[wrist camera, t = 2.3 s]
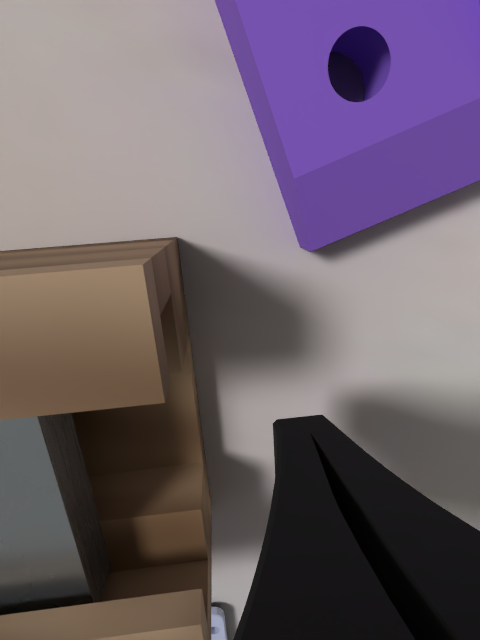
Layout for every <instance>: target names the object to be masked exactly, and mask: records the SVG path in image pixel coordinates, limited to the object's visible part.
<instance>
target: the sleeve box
mask: <svg viewBox="0 0 480 640" xmlns="http://www.w3.org/2000/svg"><path fill="white" fill-rule="evenodd" d="M64 413H72V417H73V421H74V425H75V429H76V432H77V436H78V440H79V444H80V448H81V451H82V455H83V459H84V463H85V466H86V470H87V474H88V478H89V482H90V485H91V489H92V493H93V497H94V501H95V504H96V508H97V512H98V516H99V520H100V523H101V527H102V531H103V535H104V538H105V542H106V546H107V550H108V554H109V557H110V561H111V565H110V568H109V572H108V575H107V579H106V582H105V586H104V589H103V593H102V596H101V600H100V602H97V603H90V604H82V605H75V606H67V607H60V608H52V609H45V610H37V611H30V612H22V613H15V614H7V615H0V640H211V532H212V508H211V500H210V492H209V485H208V477H207V469H206V461H205V453H204V445H203V437H202V429H201V421H200V414H199V406H198V398H197V390H196V382H195V374H194V366H193V358H192V350H191V343H190V335H189V327H188V319H187V311H186V303H185V295H184V287H183V280H182V272H181V264H180V256H179V248H178V240H177V237H172V238H160V239H147V240H135V241H122V242H110V243H97V244H85V245H72V246H59V247H47V248H34V249H22V250H9V251H0V420H7V419H16V418H26V417H35V416H45V415H54V414H64Z"/></svg>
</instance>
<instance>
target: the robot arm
mask: <svg viewBox="0 0 480 640" xmlns="http://www.w3.org/2000/svg"><path fill="white" fill-rule="evenodd" d="M273 435H274V456H275V484H274V491H273V497H272V503H271V509H270V515H269V520H268V524H267V529H266V533H265V538H264V542H263V546H262V550H261V554H260V557H259V561H258V565H257V568H256V572H255V575H254V579H253V582H252V586H251V589H250V592H249V595H248V599H247V602H246V605H245V608H244V611H243V614H242V617H241V620H240V622H239V625H238V628H237V631H236V634H235V637H234V639H233V640H480V531H479V530H477V529H475V528H474V527H472V526H470V525H469V524H467V523H466V522H464V521H462V520H461V519H459V518H458V517H456V516H454V515H453V514H451V513H450V512H448V511H447V510H445V509H443V508H442V507H440V506H439V505H437V504H436V503H434V502H433V501H431V500H430V499H428V498H427V497H425V496H424V495H422V494H421V493H420V492H418V491H417V490H415V489H414V488H413V487H411V486H410V485H408V484H407V483H406V482H404V481H403V480H401V479H400V478H399V477H397V476H396V475H395V474H393V473H392V472H391V471H389V470H388V469H387V468H385V467H384V466H383V465H381V464H380V463H379V462H378V461H376V460H375V459H374V458H373V457H371V456H370V455H369V454H368V453H366V452H365V451H364V450H363V449H362V448H360V447H359V446H358V445H357V444H356V443H355V442H353V441H352V440H351V439H350V438H349V437H347V436H346V435H345V434H344V433H343V432H342V431H341V430H339V429H338V428H337V427H336V426H335V425H334V424H332V423H331V422H330V421H329V420H328V419H327V418H325V417H324V416H323V415H315V416H306V417H296V418H287V419H278V420H276V421H275V422H274V423H273ZM211 640H228V639H227V631H226V623H225V615H224V611H223V610H222V609H221V608H219V607H211Z"/></svg>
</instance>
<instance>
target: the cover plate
mask: <svg viewBox="0 0 480 640" xmlns="http://www.w3.org/2000/svg"><path fill="white" fill-rule="evenodd" d="M110 565H111V561H110V557H109V554H108V550H107V546H106V542H105V538H104V535H103V531H102V527H101V523H100V520H99V516H98V512H97V508H96V504H95V501H94V497H93V493H92V489H91V485H90V482H89V478H88V474H87V470H86V466H85V463H84V459H83V455H82V451H81V448H80V444H79V440H78V436H77V432H76V429H75V425H74V421H73V417H72V413H64V414H54V415H45V416H35V417H26V418H16V419H7V420H0V615H7V614H15V613H22V612H30V611H37V610H45V609H52V608H60V607H67V606H75V605H82V604H90V603H97V602H100V600H101V596H102V593H103V589H104V586H105V582H106V579H107V575H108V572H109V568H110Z"/></svg>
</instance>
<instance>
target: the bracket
mask: <svg viewBox="0 0 480 640" xmlns="http://www.w3.org/2000/svg"><path fill="white" fill-rule="evenodd" d="M215 2H216V5H217V8H218V11H219V14H220V17H221V19H222V22H223V25H224V28H225V31H226V34H227V37H228V40H229V43H230V46H231V48H232V51H233V54H234V57H235V60H236V63H237V66H238V69H239V72H240V74H241V77H242V80H243V83H244V86H245V89H246V92H247V95H248V98H249V101H250V103H251V106H252V109H253V112H254V115H255V118H256V121H257V124H258V127H259V129H260V132H261V135H262V138H263V141H264V144H265V147H266V150H267V153H268V156H269V158H270V161H271V164H272V167H273V170H274V173H275V176H276V179H277V182H278V184H279V187H280V190H281V193H282V196H283V199H284V202H285V205H286V208H287V210H288V213H289V216H290V219H291V222H292V225H293V228H294V231H295V234H296V237H297V239H298V242H299V245H300V247H301V248H303V249H305V250H308V251H310V252H311V251H313V250H316V249H318V248H321V247H323V246H325V245H328V244H330V243H332V242H335V241H337V240H340V239H342V238H344V237H347V236H349V235H351V234H354V233H356V232H358V231H361V230H363V229H366V228H368V227H370V226H373V225H375V224H377V223H380V222H382V221H384V220H387V219H389V218H392V217H394V216H396V215H399V214H401V213H403V212H406V211H408V210H410V209H413V208H415V207H418V206H420V205H422V204H425V203H427V202H429V201H432V200H434V199H436V198H439V197H441V196H444V195H446V194H448V193H451V192H453V191H455V190H458V189H460V188H462V187H465V186H467V185H470V184H472V183H474V182H477V181H479V180H480V0H215ZM330 52H338V53H342V54H344V55H346V56H348V57H349V58H350V59H352V60H353V61H354V62H355V64H356V65H357V66H358V68H359V70H360V72H361V74H362V77H363V81H364V89H365V92H364V100H363V102H351V101H347V100H345V99H343V98H342V97H340V96H339V95H338V94H337V93H336V91H335V90H334V89H333V87H332V85H331V82H330V80H329V75H328V59H329V55H330Z"/></svg>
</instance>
